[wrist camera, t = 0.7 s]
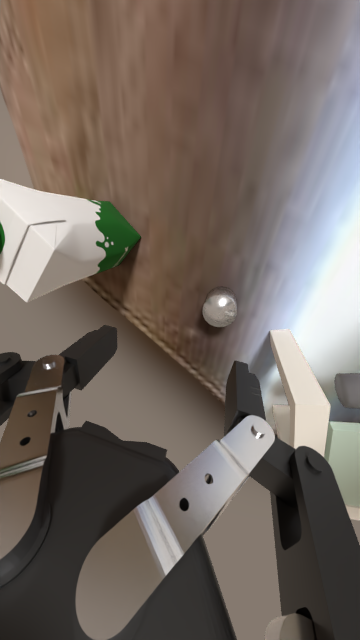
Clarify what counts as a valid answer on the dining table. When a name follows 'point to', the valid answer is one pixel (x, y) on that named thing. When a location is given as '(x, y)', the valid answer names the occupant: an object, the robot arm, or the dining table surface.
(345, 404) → the trapdoor
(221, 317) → the cylinder
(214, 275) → the dining table surface
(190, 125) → the dining table surface
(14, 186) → the milk carton
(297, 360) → the trapdoor stand
